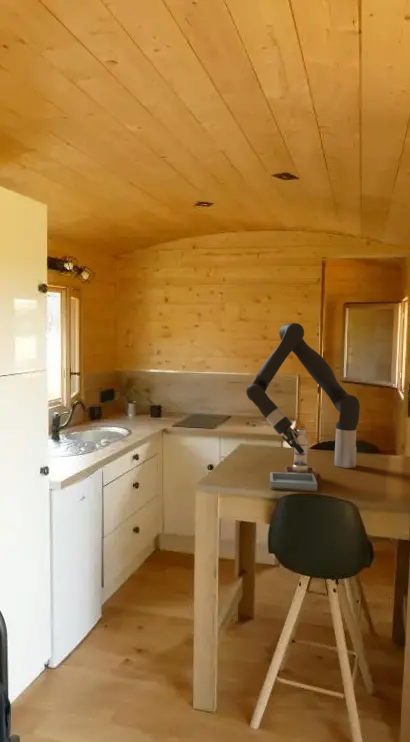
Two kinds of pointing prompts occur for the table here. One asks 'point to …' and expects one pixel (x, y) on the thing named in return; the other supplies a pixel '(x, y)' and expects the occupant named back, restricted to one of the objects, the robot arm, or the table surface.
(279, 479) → the slate tray
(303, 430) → the plastic bottle
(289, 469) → the walnut holder
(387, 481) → the table surface
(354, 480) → the table surface
